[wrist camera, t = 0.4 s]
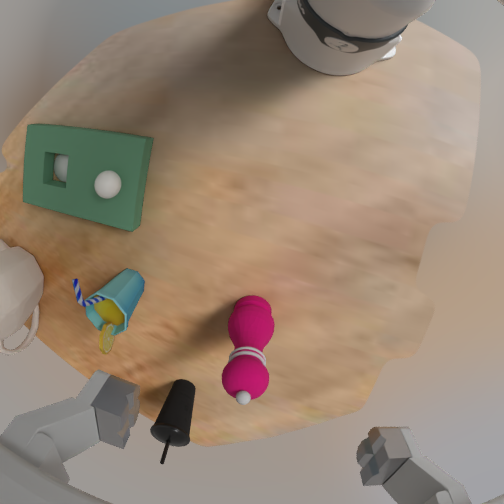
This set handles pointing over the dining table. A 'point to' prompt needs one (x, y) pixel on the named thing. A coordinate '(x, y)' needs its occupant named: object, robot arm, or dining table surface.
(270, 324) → the pepper mill
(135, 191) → the putting mat
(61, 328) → the dining table surface
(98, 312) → the cup
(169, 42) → the dining table surface
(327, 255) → the dining table surface
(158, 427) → the drinking cup
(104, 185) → the ball
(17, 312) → the watering can
